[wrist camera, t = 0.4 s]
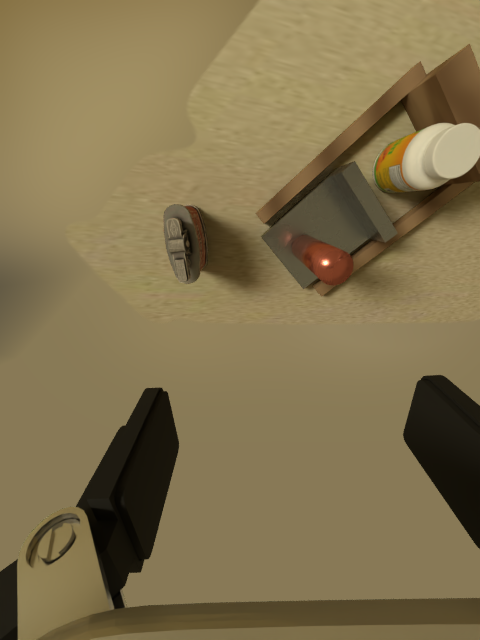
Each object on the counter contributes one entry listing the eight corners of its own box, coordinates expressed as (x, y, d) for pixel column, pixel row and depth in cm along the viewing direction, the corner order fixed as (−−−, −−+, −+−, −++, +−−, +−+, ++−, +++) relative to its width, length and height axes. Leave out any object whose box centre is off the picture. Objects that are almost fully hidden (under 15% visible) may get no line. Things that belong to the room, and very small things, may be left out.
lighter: (175, 206, 32) (149, 206, 23) (202, 203, 32) (186, 202, 23) (187, 269, 35) (167, 292, 26) (211, 267, 35) (200, 289, 26)
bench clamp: (420, 60, 26) (462, 25, 21) (472, 177, 30) (518, 171, 25) (255, 213, 32) (258, 214, 27) (318, 293, 36) (330, 307, 31)
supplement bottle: (408, 128, 29) (483, 94, 20) (425, 173, 30) (500, 160, 21) (363, 161, 30) (415, 142, 21) (382, 202, 32) (436, 201, 23)
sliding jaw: (336, 168, 30) (400, 142, 18) (375, 229, 33) (453, 242, 20) (260, 236, 33) (271, 252, 21) (301, 286, 36) (332, 327, 24)
